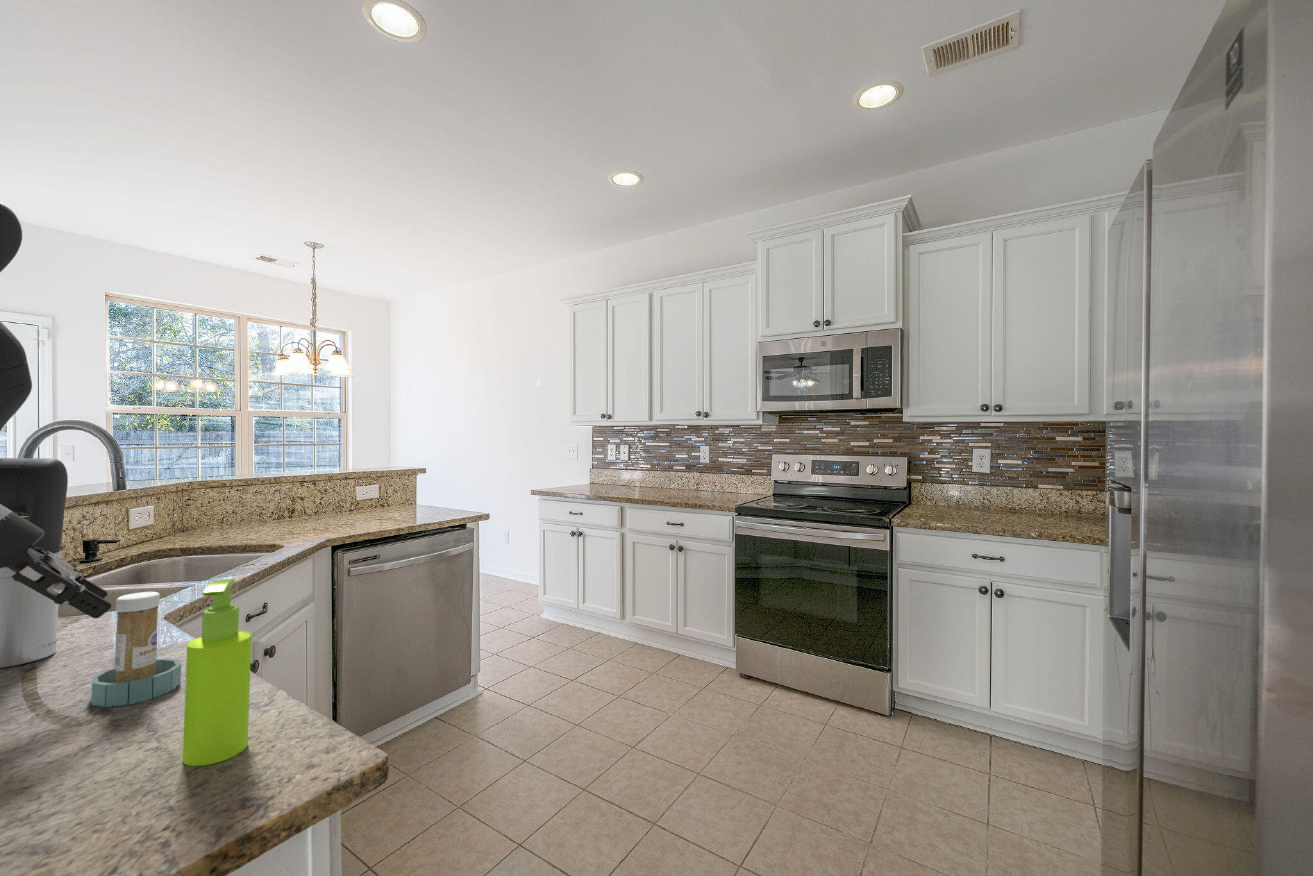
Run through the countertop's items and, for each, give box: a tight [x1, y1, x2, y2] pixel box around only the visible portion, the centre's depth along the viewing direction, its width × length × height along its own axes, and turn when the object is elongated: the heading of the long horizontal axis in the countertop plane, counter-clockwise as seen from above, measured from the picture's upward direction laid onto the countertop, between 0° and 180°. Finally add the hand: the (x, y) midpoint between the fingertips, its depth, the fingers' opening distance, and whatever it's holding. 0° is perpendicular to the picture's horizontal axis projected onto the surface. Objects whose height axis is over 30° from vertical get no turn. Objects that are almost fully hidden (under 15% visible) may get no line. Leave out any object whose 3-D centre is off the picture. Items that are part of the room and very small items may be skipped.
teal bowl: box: [90, 657, 182, 708], centre depth 78 cm, size 9×9×3 cm
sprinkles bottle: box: [114, 591, 161, 683], centre depth 78 cm, size 5×5×14 cm
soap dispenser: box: [182, 578, 252, 767], centre depth 63 cm, size 6×7×20 cm
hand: (103, 605), depth 75 cm, fingers open, 8 cm apart
